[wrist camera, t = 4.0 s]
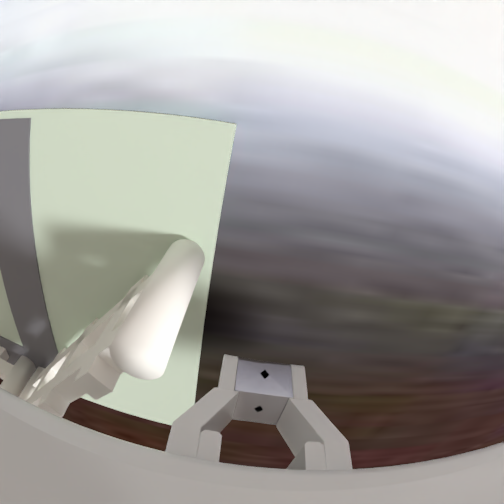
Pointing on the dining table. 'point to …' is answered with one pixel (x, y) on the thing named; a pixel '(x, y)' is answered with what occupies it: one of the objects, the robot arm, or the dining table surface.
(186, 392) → the card
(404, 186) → the dining table surface
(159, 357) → the white toy fence
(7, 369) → the fence fixed
